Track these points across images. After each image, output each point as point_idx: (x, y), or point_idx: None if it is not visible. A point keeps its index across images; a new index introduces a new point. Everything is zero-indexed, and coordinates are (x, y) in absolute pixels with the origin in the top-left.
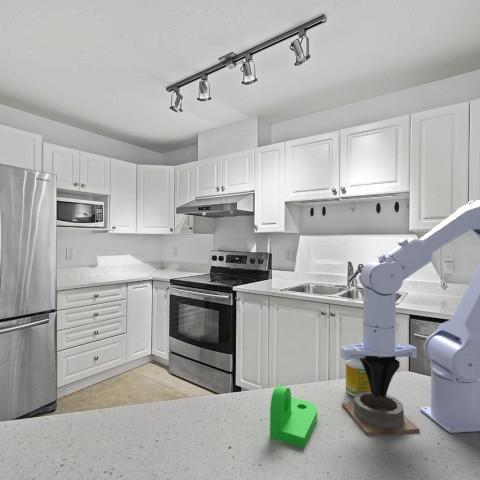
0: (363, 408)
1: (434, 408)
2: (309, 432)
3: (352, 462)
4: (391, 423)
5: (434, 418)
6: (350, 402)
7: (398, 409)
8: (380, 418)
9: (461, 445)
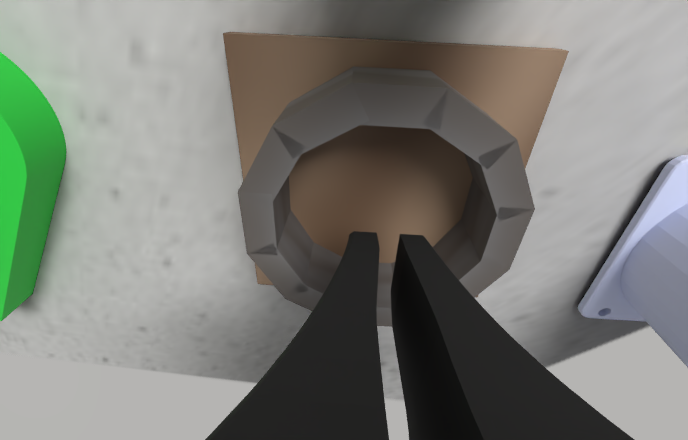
0: (261, 265)
1: (668, 277)
2: (28, 262)
3: (174, 347)
4: None
5: (625, 252)
6: (285, 36)
7: None
8: None
9: (541, 347)
